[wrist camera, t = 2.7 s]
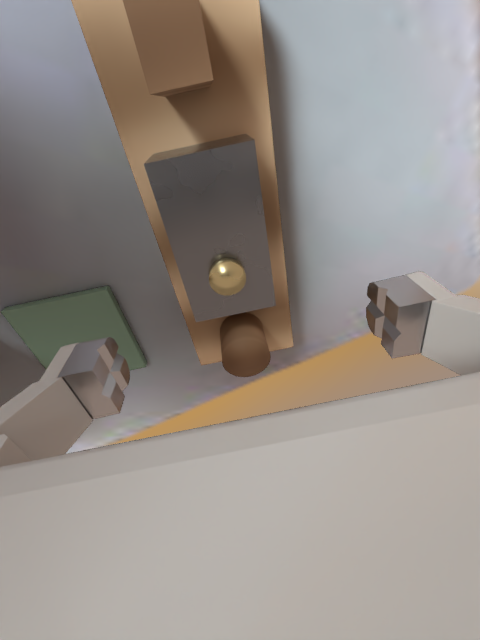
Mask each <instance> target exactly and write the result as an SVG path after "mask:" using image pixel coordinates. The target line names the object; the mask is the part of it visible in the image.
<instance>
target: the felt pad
mask: <svg viewBox="0 0 480 640" xmlns="http://www.w3.org/2000/svg"><path fill="white" fill-rule="evenodd" d="M1 313H2V314H3V316H4V317H5V318H6V319H7V321H8V322H9V323H10V324H11V326H12V327H13V328H14V330H15V331H16V332H17V333H18V335H19V336H20V337H21V338H22V340H23V341H24V342H25V344H26V345H27V346H28V347H29V349H30V350H31V351H32V352H33V354H34V355H35V356H36V357H37V359H38V360H39V361H40V363H41V364H42V365H43V366H44V368H45V369H47V368H48V366H49V365H50V363H51V362H52V360H53V358H54V357H55V355H56V354H57V352H58V351H59V349H60V348H61V347H63V346H65V345H70V344H74V343H80V342H85V341H90V340H95V339H101V338H106V337H111V338H113V339H114V340H115V341H116V343H117V345H118V346H119V348H118V351H117V353H118V354H119V355H121V356H123V357H124V358H125V359H126V361H127V363H128V367H129V370H134V369H139V368H143V367H146V365H147V361H146V359H145V357H144V355H143V353H142V351H141V349H140V347H139V345H138V343H137V341H136V339H135V337H134V335H133V333H132V331H131V329H130V327H129V325H128V323H127V321H126V319H125V317H124V315H123V313H122V311H121V309H120V307H119V305H118V303H117V301H116V299H115V297H114V295H113V293H112V291H111V289H110V287H109V286H105V287H100V288H95V289H91V290H86V291H81V292H76V293H72V294H67V295H62V296H57V297H53V298H48V299H43V300H38V301H34V302H29V303H24V304H19V305H15V306H10V307H5V308H4V309H3V310H2V311H1Z"/></svg>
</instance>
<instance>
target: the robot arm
mask: <svg viewBox="0 0 480 640" xmlns="http://www.w3.org/2000/svg"><path fill="white" fill-rule="evenodd" d="M367 296H368V297H369V298H370V299H371V300H372V301H371V302H370V303H369V305H368V306H367V307H366V318H367V322H368V326H369V328H370V330H371V331H372V333H373V334H374V335H375V336H377V337H380V338H382V341H381V344H382V346H383V347H384V348H385V350H386V351H387V352H388V354H389V355H390V356H391V357H392V358H397V357H403V356H409V355H414V354H420V353H421V355H423V356H425V357H427V358H429V359H431V360H433V361H435V362H437V363H439V364H441V365H442V366H444V367H446V368H449V369H450V370H452V371H454V372H456V373H458V374H460V375H461V376H456V377H452V378H447V379H442V380H437V381H432V382H427V383H421V384H416V385H411V386H406V387H401V388H396V389H391V390H386V391H381V392H376V393H371V394H366V395H361V396H355V397H351V398H345V399H341V400H335V401H330V402H325V403H320V404H315V405H310V406H305V407H300V408H295V409H290V410H285V411H280V412H275V413H270V414H265V415H260V416H255V417H250V418H245V419H240V420H235V421H230V422H225V423H220V424H214V425H210V426H205V427H200V428H194V429H189V430H184V431H179V432H175V433H169V434H164V435H160V436H154V437H150V438H145V439H139V440H134V441H129V442H124V443H119V444H113V445H108V446H103V447H98V448H93V449H88V450H83V451H78V452H73V453H68V454H65V453H66V452H67V451H68V450H69V449H70V448H71V446H72V445H73V444H74V443H75V442H76V440H77V439H78V438H79V437H80V436H81V434H82V433H83V432H84V431H85V430H86V428H87V427H88V426H89V425H90V424H91V422H92V421H93V420H92V419H96V418H101V417H105V416H109V415H114V414H118V413H120V411H121V407H122V404H123V401H124V397H125V396H124V394H123V392H122V391H123V390H124V389H125V388H126V387H127V386H128V383H129V379H130V372H129V367H128V363H127V361H126V359H125V358H124V357H123V356H121V355H119V354H118V353H117V351H118V348H119V346H118V345H117V343H116V341H115V340H114V339H113V338H111V337H106V338H101V339H95V340H90V341H85V342H80V343H74V344H70V345H65V346H63V347H61V348H60V349H59V351H58V352H57V354H56V355H55V357H54V358H53V360H52V362H51V363H50V365H49V366H48V368H47V369H46V371H45V373H44V374H43V376H42V377H41V379H40V380H39V382H35V383H33V384H31V385H30V386H28V387H27V388H26V389H24V390H23V391H22V392H20V393H19V394H17V395H16V396H15V397H13V398H12V399H11V400H9V401H8V402H6V403H5V404H4V405H2V406H1V407H0V640H480V299H479V298H474V297H470V296H466V295H458V296H456V295H455V294H453V293H452V292H451V291H449V290H448V289H446V288H445V287H444V286H442V285H441V284H439V283H438V282H437V281H435V280H434V279H432V278H431V277H430V276H428V275H427V274H425V273H424V272H420V271H418V272H414V273H410V274H406V275H402V276H398V277H394V278H389V279H385V280H381V281H377V282H372V283H369V286H368V290H367Z"/></svg>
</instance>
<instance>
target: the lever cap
mask: <svg viewBox="0 0 480 640" xmlns="http://www.w3.org/2000/svg"><path fill="white" fill-rule="evenodd" d="M144 167H145V170H146V173H147V176H148V179H149V182H150V185H151V188H152V191H153V194H154V197H155V200H156V203H157V206H158V209H159V212H160V215H161V218H162V221H163V224H164V227H165V230H166V233H167V236H168V239H169V242H170V245H171V248H172V251H173V254H174V257H175V260H176V263H177V266H178V269H179V272H180V275H181V278H182V282H183V285H184V288H185V291H186V294H187V297H188V300H189V303H190V306H191V309H192V312H193V315H194V318H195V321H196V322H200V321H205V320H210V319H215V318H220V317H225V316H229V315H234V314H239V313H244V312H249V311H254V310H258V309H263V308H268V307H273V306H276V300H275V293H274V285H273V277H272V270H271V262H270V254H269V247H268V239H267V231H266V224H265V216H264V208H263V201H262V193H261V185H260V178H259V170H258V162H257V155H256V147H255V140H254V139H253V138H251V137H250V136H249V135H247V134H241V135H237V136H232V137H227V138H223V139H218V140H214V141H209V142H205V143H200V144H196V145H191V146H187V147H182V148H177V149H173V150H168V151H164V152H159V153H155V154H153V155H152V156H151V157H150V158H149V159H148V160H147V161H146V162H145V163H144Z"/></svg>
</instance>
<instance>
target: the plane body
mask: <svg viewBox="0 0 480 640" xmlns="http://www.w3.org/2000/svg"><path fill="white" fill-rule="evenodd" d="M71 1H72V4H73V7H74V9H75V12H76V15H77V18H78V21H79V23H80V26H81V29H82V32H83V35H84V37H85V40H86V43H87V46H88V49H89V51H90V54H91V57H92V60H93V63H94V66H95V68H96V71H97V74H98V77H99V80H100V82H101V85H102V88H103V91H104V94H105V96H106V99H107V102H108V105H109V108H110V110H111V113H112V116H113V119H114V122H115V125H116V127H117V130H118V133H119V136H120V139H121V141H122V144H123V147H124V150H125V153H126V155H127V158H128V161H129V164H130V167H131V169H132V172H133V175H134V178H135V181H136V184H137V186H138V189H139V192H140V195H141V198H142V200H143V203H144V206H145V209H146V212H147V214H148V217H149V220H150V223H151V226H152V228H153V231H154V234H155V237H156V240H157V243H158V245H159V248H160V251H161V254H162V257H163V259H164V262H165V265H166V268H167V271H168V273H169V276H170V279H171V282H172V285H173V287H174V290H175V293H176V296H177V299H178V302H179V304H180V307H181V310H182V313H183V316H184V318H185V321H186V324H187V327H188V330H189V332H190V335H191V338H192V341H193V344H194V346H195V349H196V352H197V355H198V358H199V361H200V363H201V365H206V364H211V363H216V362H221V361H222V364H223V367H224V368H225V370H226V371H227V372H229V373H230V374H232V375H235V376H238V377H249V376H253V375H256V374H258V373H260V372H262V371H263V370H264V369H265V368H266V367H267V366H268V364H269V362H270V351H275V350H280V349H285V348H290V347H293V337H292V327H291V317H290V307H289V297H288V287H287V277H286V267H285V257H284V247H283V237H282V227H281V217H280V207H279V197H278V187H277V177H276V167H275V157H274V147H273V137H272V127H271V117H270V107H269V96H268V86H267V76H266V66H265V56H264V46H263V36H262V26H261V16H260V6H259V0H71ZM241 134H247V135H249V136H250V137H251V138H253V139H254V140H255V147H256V155H257V162H258V170H259V178H260V185H261V193H262V201H263V208H264V216H265V224H266V231H267V239H268V247H269V254H270V262H271V270H272V277H273V285H274V293H275V300H276V306H273V307H268V308H263V309H258V310H254V311H249V312H244V313H239V314H234V315H229V316H225V317H220V318H215V319H210V320H205V321H200V322H196V321H195V318H194V315H193V312H192V309H191V306H190V303H189V300H188V297H187V294H186V291H185V288H184V285H183V282H182V278H181V275H180V272H179V269H178V266H177V263H176V260H175V257H174V254H173V251H172V248H171V245H170V242H169V239H168V236H167V233H166V230H165V227H164V224H163V221H162V218H161V215H160V212H159V209H158V206H157V203H156V200H155V197H154V194H153V191H152V188H151V185H150V182H149V179H148V176H147V173H146V170H145V167H144V163H145V162H146V161H147V160H148V159H149V158H150V157H151V156H152V155H153V154H155V153H159V152H164V151H168V150H173V149H177V148H182V147H187V146H191V145H196V144H200V143H205V142H209V141H214V140H218V139H223V138H227V137H232V136H237V135H241Z"/></svg>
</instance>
